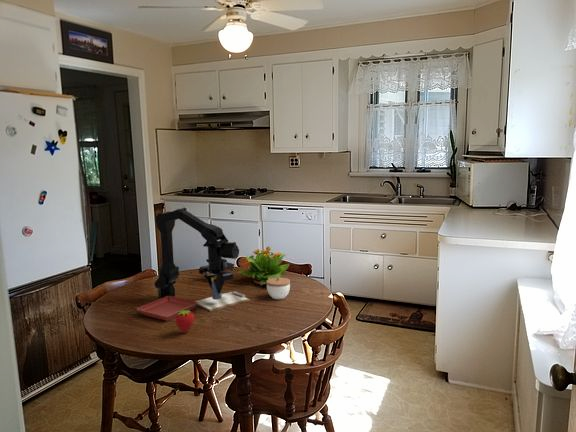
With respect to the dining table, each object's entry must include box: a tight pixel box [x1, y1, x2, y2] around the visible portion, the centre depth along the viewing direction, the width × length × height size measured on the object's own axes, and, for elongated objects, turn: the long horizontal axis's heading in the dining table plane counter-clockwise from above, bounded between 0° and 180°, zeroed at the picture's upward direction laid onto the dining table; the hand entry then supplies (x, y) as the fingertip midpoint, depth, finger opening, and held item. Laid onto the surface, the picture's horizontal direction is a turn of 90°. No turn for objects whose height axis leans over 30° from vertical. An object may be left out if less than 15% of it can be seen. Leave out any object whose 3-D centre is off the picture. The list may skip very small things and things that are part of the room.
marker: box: [211, 276, 223, 299], centre depth 190 cm, size 4×4×9 cm
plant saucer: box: [136, 296, 198, 322], centre depth 184 cm, size 18×18×3 cm
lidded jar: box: [265, 276, 291, 300], centre depth 199 cm, size 11×11×9 cm
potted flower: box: [237, 246, 290, 286], centre depth 224 cm, size 25×24×18 cm
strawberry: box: [175, 307, 195, 334], centre depth 162 cm, size 6×8×10 cm
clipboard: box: [194, 290, 251, 313], centre depth 196 cm, size 20×15×2 cm
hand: (216, 292), depth 190 cm, fingers closed on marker, 4 cm apart
